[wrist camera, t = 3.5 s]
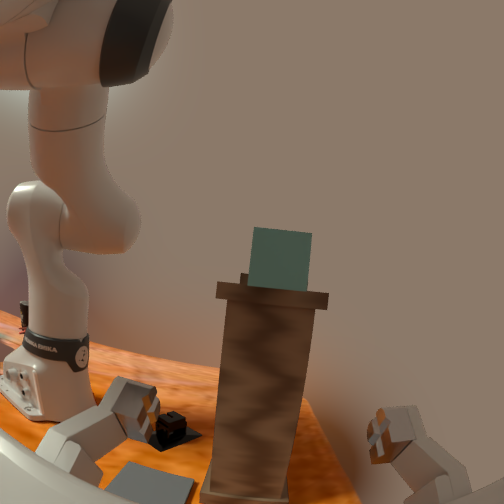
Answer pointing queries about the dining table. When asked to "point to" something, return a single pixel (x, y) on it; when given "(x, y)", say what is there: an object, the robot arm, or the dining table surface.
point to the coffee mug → (24, 313)
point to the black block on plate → (171, 432)
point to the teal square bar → (280, 259)
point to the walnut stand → (259, 391)
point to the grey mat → (150, 485)
